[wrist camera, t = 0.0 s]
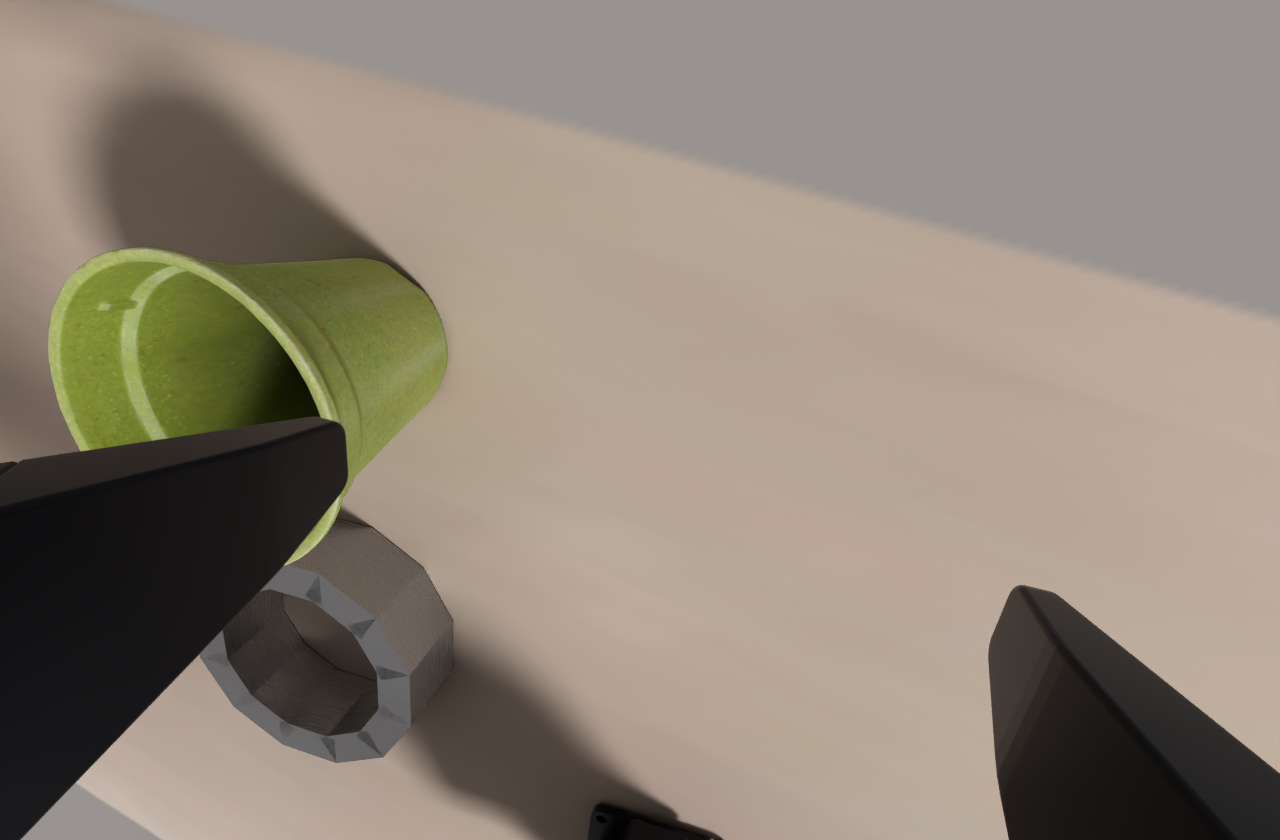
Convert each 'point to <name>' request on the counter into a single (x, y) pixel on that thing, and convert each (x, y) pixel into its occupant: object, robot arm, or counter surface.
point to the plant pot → (242, 350)
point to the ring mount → (310, 686)
